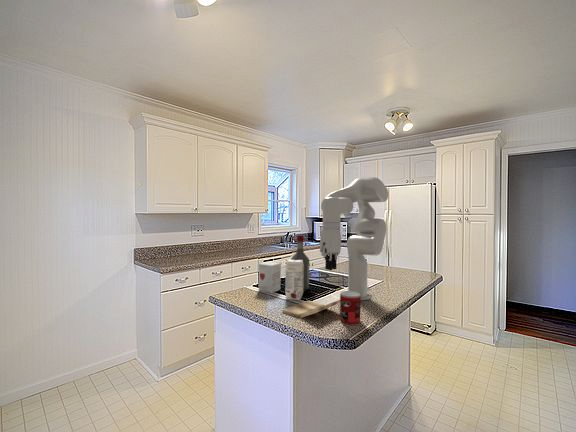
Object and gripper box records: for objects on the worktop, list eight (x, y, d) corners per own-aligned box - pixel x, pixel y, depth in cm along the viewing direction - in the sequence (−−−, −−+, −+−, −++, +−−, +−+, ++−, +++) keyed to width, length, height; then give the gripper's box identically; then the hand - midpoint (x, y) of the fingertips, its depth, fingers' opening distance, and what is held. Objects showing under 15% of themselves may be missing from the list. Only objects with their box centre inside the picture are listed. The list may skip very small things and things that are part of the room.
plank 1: (313, 312, 124) (312, 310, 125) (329, 307, 119) (328, 304, 119) (300, 318, 118) (299, 314, 119) (317, 312, 113) (316, 309, 113)
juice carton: (301, 300, 141) (302, 262, 141) (284, 299, 143) (284, 261, 142) (303, 296, 148) (304, 259, 148) (287, 295, 150) (287, 258, 150)
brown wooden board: (308, 302, 138) (308, 300, 138) (324, 307, 132) (324, 304, 132) (282, 312, 125) (282, 309, 125) (299, 318, 119) (299, 315, 119)
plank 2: (325, 307, 131) (324, 305, 131) (341, 302, 125) (340, 299, 126) (314, 312, 125) (313, 309, 125) (330, 306, 119) (329, 303, 120)
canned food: (337, 317, 120) (338, 291, 119) (356, 317, 120) (357, 290, 120) (342, 324, 112) (343, 296, 112) (363, 324, 113) (363, 296, 112)
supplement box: (258, 291, 158) (258, 263, 158) (267, 287, 165) (267, 261, 165) (271, 293, 153) (271, 265, 153) (280, 289, 161) (281, 262, 160)
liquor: (304, 285, 170) (304, 234, 169) (310, 289, 161) (311, 236, 161) (289, 286, 167) (290, 234, 167) (294, 291, 158) (295, 236, 158)
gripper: (334, 225, 132) (334, 265, 132) (312, 226, 120) (312, 270, 121) (349, 226, 127) (348, 267, 127) (327, 227, 115) (327, 273, 116)
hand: (330, 268), depth 124 cm, fingers closed
